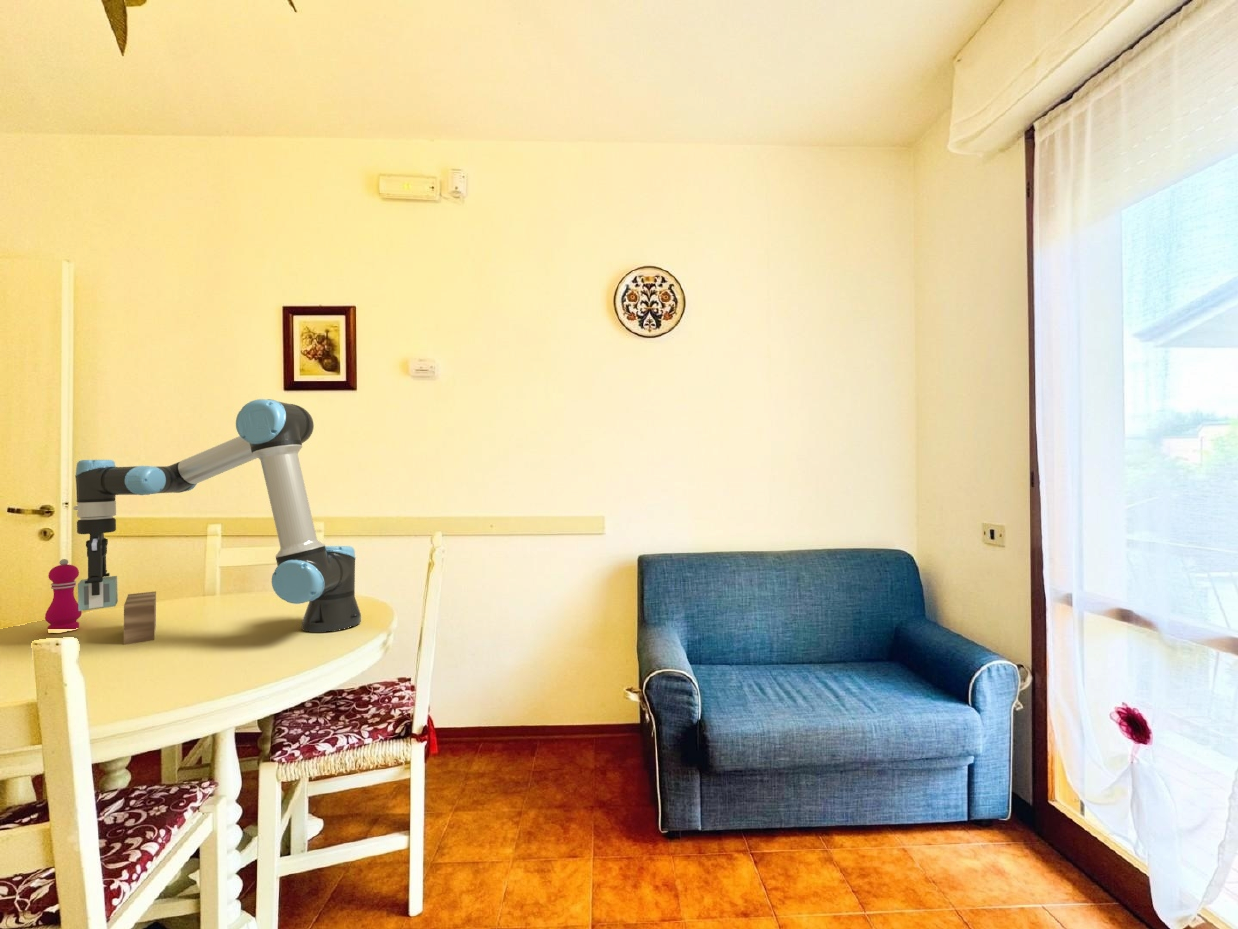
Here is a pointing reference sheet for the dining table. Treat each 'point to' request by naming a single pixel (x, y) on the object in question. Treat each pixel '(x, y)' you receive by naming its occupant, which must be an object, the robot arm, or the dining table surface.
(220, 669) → the dining table surface
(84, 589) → the letter cube
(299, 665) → the dining table surface
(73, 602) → the pepper mill
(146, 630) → the walnut box
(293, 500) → the robot arm
